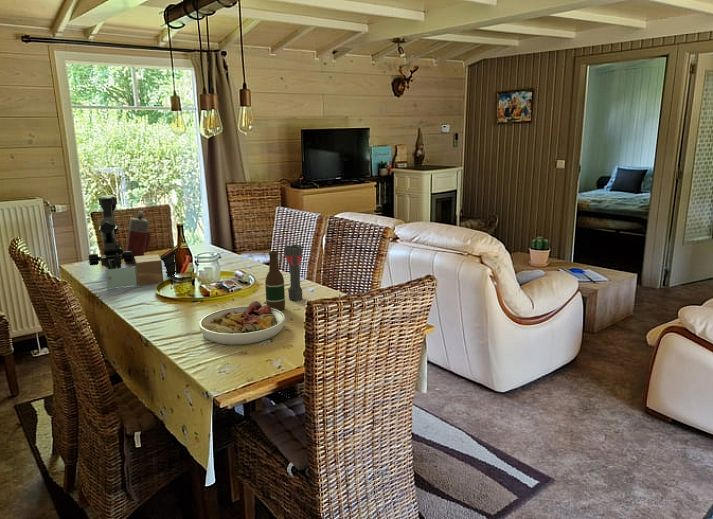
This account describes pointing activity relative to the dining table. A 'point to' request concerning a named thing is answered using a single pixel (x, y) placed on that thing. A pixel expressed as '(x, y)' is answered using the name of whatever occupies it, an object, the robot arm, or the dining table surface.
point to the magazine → (169, 261)
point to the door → (121, 277)
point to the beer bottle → (275, 284)
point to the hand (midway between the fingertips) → (112, 273)
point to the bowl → (242, 324)
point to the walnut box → (149, 269)
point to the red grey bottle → (138, 236)
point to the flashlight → (294, 270)
